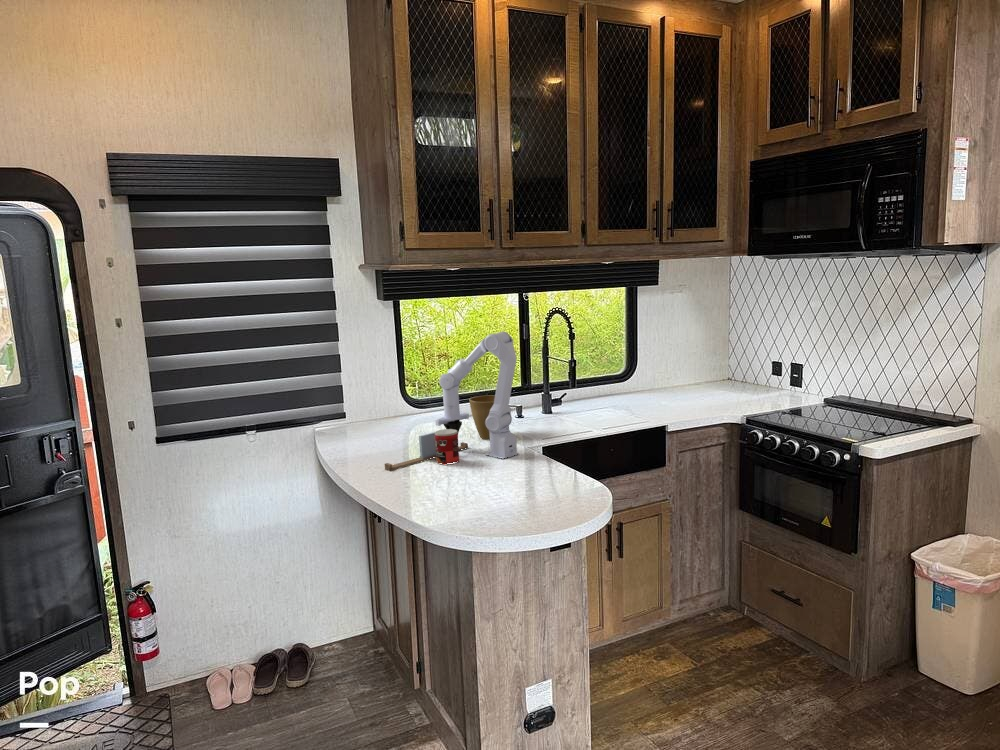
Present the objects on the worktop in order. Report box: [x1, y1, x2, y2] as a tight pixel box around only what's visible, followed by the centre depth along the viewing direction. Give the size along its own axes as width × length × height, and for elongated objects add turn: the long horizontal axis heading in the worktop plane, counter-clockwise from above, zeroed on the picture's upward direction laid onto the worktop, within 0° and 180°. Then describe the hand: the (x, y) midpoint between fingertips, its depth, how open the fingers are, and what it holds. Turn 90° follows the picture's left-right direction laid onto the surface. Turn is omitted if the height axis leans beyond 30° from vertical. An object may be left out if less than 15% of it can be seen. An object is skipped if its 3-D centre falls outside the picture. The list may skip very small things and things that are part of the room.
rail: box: [384, 442, 469, 472], centre depth 249 cm, size 3×35×2 cm, turn 133°
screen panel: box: [418, 431, 436, 458], centre depth 250 cm, size 2×10×8 cm, turn 133°
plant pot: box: [468, 394, 495, 440], centre depth 274 cm, size 15×15×16 cm
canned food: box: [434, 428, 460, 464], centre depth 243 cm, size 8×8×11 cm
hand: (453, 440), depth 257 cm, fingers closed
